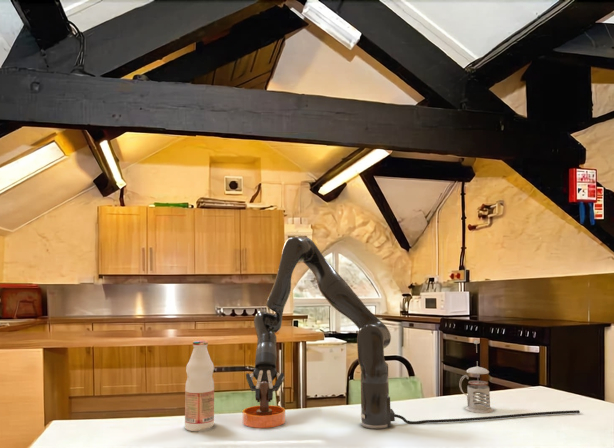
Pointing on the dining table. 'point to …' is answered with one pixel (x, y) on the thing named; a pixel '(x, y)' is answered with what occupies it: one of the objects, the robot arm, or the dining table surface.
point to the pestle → (264, 400)
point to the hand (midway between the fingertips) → (263, 400)
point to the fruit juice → (199, 389)
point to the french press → (481, 388)
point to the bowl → (263, 417)
